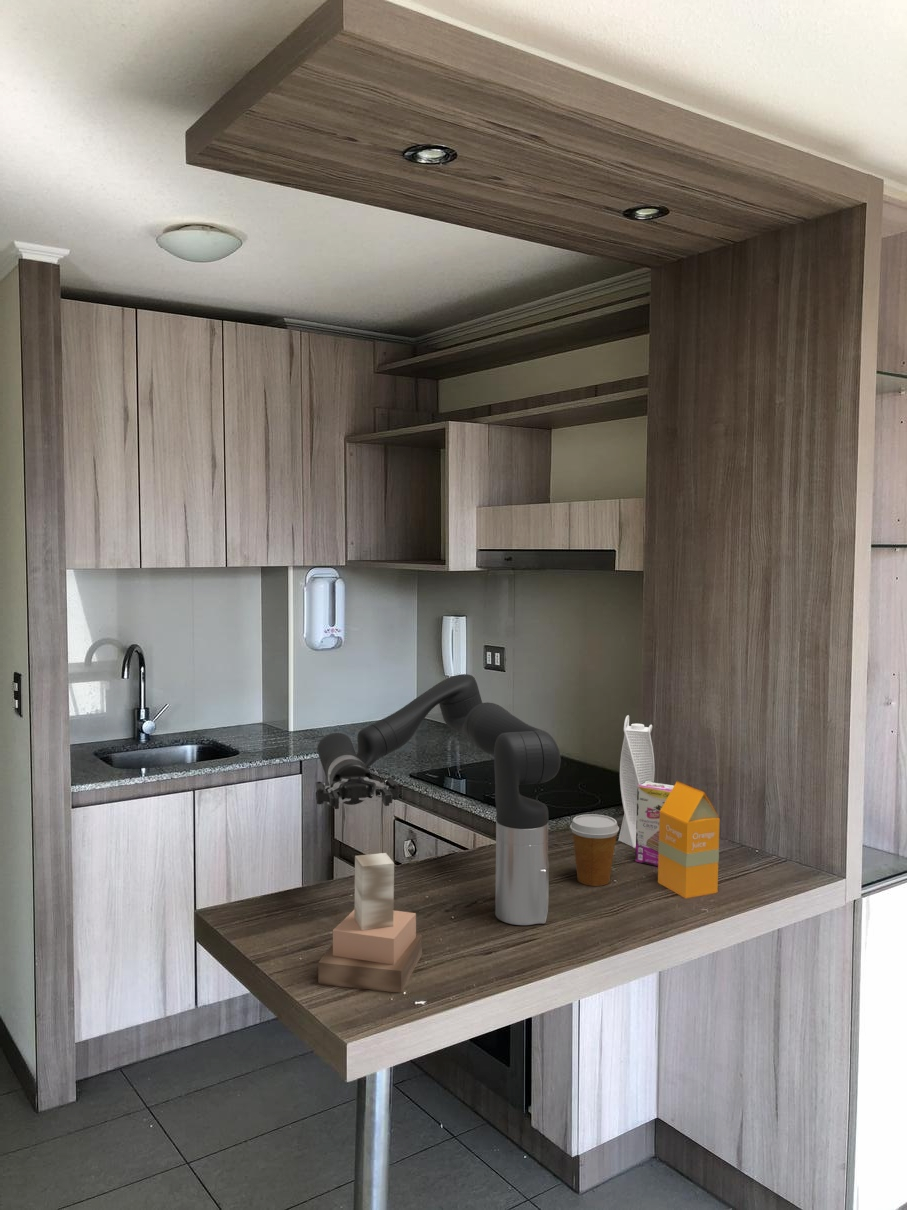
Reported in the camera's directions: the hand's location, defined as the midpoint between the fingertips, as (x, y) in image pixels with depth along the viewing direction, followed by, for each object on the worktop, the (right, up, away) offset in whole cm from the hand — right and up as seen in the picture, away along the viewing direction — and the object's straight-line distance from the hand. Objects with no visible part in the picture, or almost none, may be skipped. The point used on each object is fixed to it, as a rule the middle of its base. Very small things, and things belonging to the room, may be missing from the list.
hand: (362, 801), depth 159 cm
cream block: (+3, -17, -10) cm, 20 cm away
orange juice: (+61, -22, +25) cm, 69 cm away
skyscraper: (+55, -20, +51) cm, 78 cm away
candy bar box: (+59, -21, +37) cm, 73 cm away
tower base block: (+3, -25, -10) cm, 27 cm away
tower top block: (+3, -21, -10) cm, 23 cm away
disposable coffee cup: (+43, -21, +28) cm, 56 cm away
